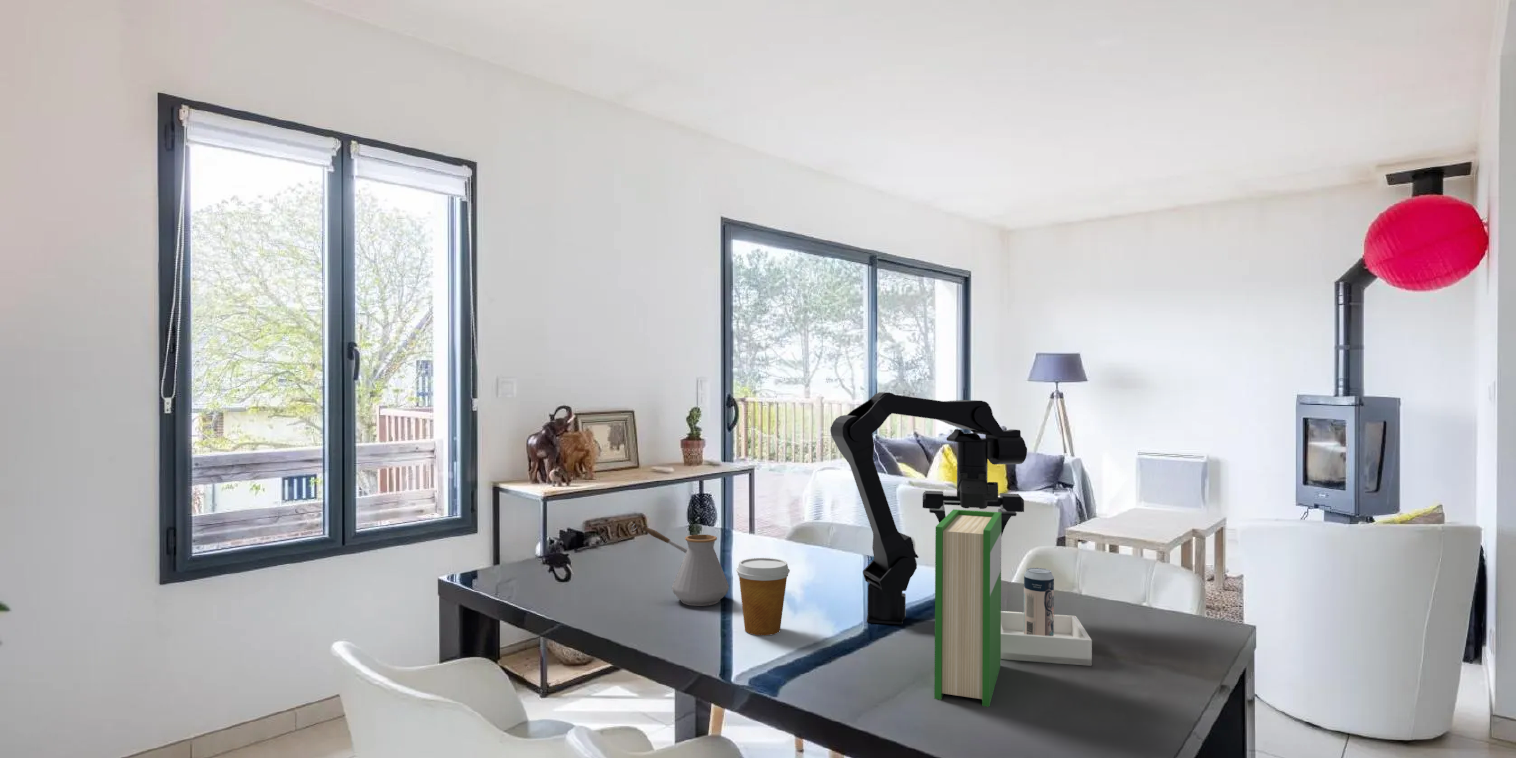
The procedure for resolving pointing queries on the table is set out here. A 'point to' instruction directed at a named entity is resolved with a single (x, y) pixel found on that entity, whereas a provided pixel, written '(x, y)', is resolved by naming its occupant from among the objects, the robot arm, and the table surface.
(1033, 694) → the table surface
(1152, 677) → the table surface
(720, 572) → the coffee pot
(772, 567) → the disposable coffee cup
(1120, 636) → the table surface
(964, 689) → the hardback book
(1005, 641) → the bin
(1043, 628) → the beer can
